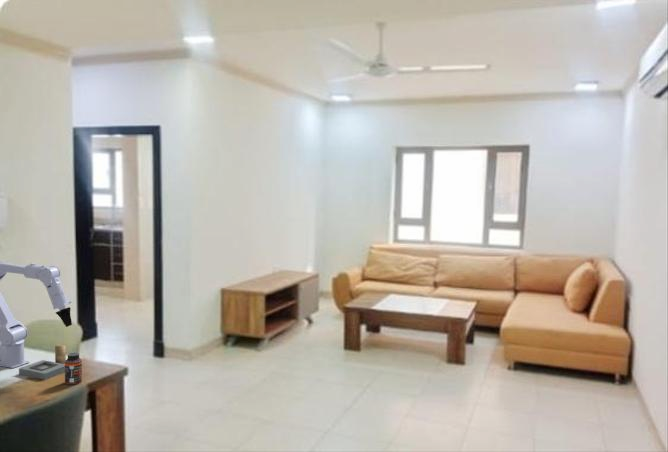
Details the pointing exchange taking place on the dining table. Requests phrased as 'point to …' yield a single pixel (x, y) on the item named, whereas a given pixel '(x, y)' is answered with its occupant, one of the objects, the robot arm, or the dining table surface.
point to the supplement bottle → (73, 369)
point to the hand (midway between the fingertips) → (68, 325)
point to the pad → (43, 366)
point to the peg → (60, 354)
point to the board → (42, 370)
